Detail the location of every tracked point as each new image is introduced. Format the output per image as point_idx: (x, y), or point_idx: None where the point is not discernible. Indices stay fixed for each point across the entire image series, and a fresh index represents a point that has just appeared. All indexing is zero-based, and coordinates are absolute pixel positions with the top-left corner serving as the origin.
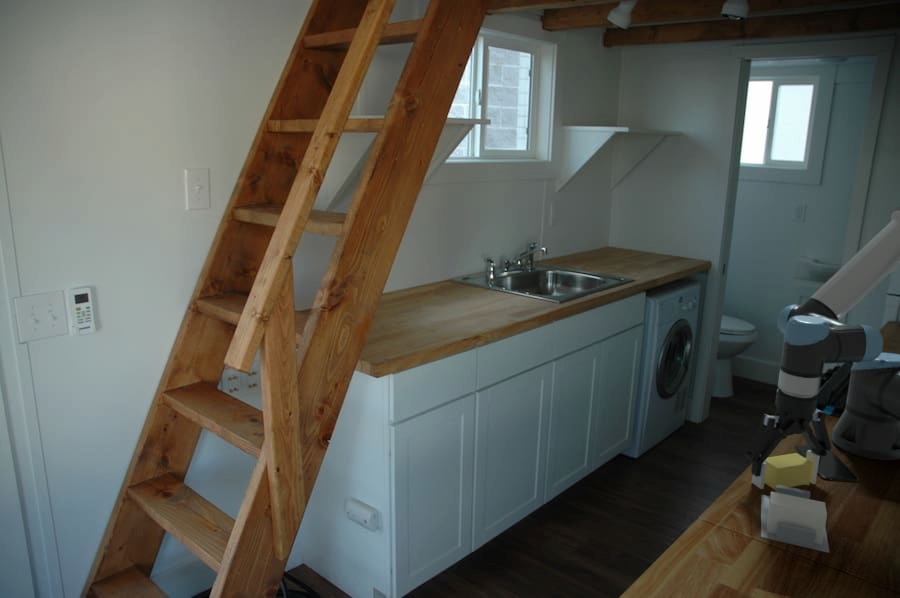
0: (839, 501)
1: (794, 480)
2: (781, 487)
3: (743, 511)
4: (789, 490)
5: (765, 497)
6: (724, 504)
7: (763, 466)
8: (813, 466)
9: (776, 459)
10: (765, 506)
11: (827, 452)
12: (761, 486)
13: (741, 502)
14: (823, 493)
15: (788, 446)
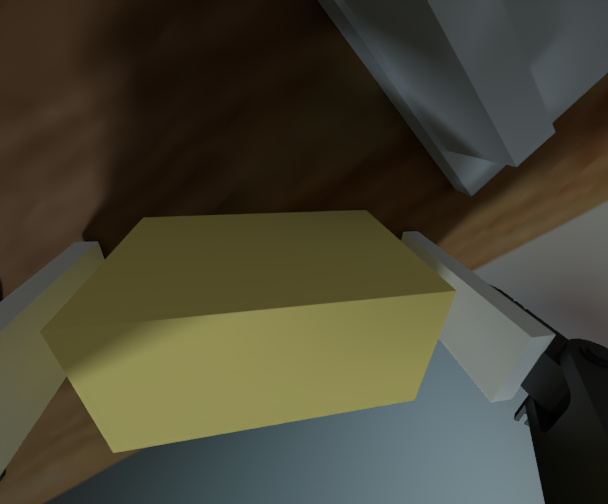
0: (5, 2)
1: (255, 239)
2: (534, 117)
3: (604, 123)
4: (518, 59)
5: (479, 168)
6: (598, 192)
7: (533, 320)
8: (31, 322)
9: (342, 388)
10: (566, 88)
11: None
12: (432, 243)
13: (540, 187)
14: (82, 142)
15: (30, 479)
